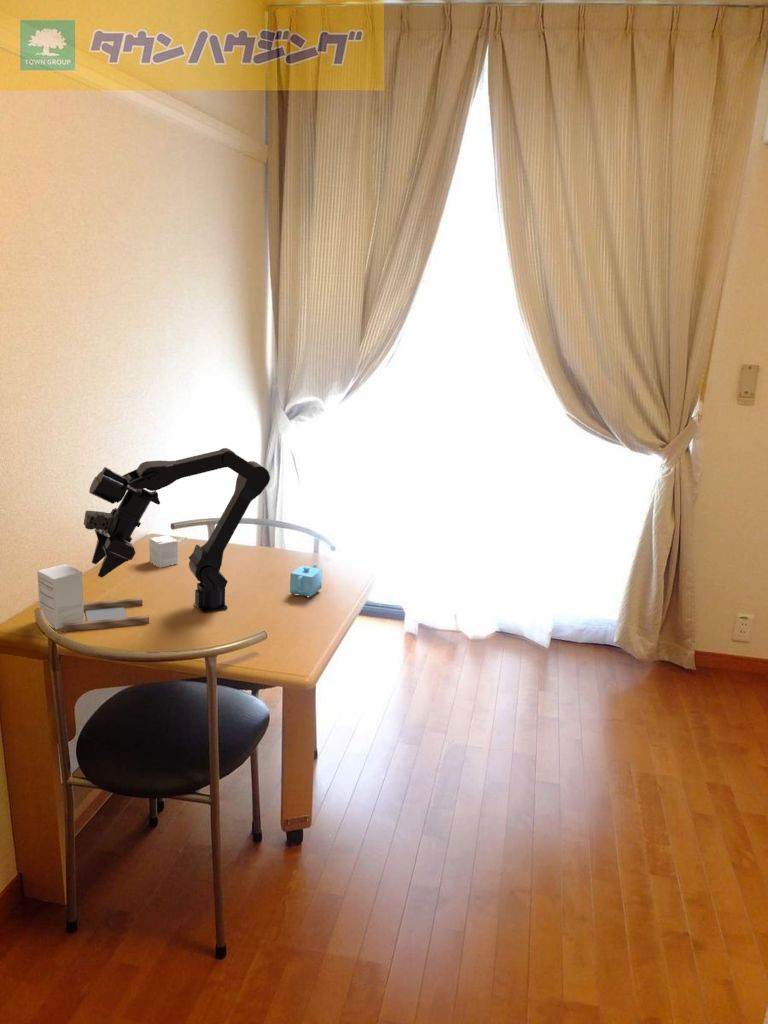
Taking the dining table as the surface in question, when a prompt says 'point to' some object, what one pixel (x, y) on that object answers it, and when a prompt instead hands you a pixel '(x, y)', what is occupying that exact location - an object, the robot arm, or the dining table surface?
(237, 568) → the dining table surface
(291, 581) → the pale blue boxy block
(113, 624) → the guide rails
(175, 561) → the skincare box
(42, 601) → the supplement box
